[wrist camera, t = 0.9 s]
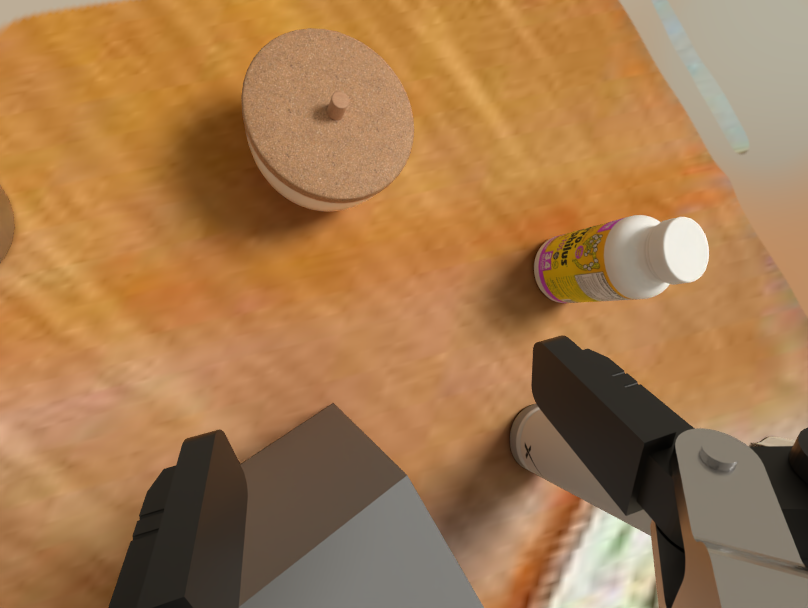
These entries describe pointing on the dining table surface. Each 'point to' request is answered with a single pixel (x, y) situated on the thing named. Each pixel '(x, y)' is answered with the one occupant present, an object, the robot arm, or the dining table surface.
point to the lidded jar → (325, 119)
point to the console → (341, 527)
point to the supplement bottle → (621, 260)
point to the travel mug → (562, 464)
